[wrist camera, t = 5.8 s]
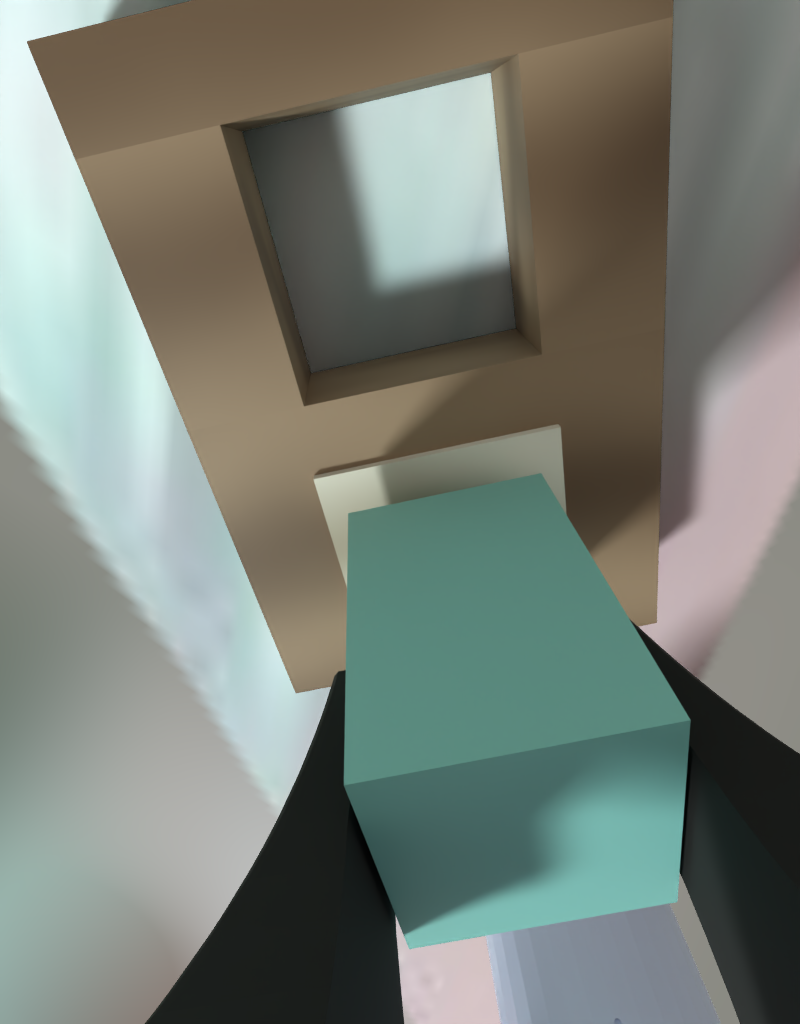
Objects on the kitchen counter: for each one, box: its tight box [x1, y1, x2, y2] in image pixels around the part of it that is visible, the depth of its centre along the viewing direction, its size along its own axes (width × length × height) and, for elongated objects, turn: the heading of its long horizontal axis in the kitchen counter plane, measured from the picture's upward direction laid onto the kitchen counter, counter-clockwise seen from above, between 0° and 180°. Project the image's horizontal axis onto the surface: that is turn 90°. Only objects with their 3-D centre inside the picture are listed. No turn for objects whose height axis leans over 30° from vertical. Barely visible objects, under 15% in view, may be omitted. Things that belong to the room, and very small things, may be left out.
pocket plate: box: [27, 0, 673, 693], centre depth 15 cm, size 16×11×3 cm
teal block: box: [344, 473, 691, 949], centre depth 12 cm, size 4×4×7 cm
